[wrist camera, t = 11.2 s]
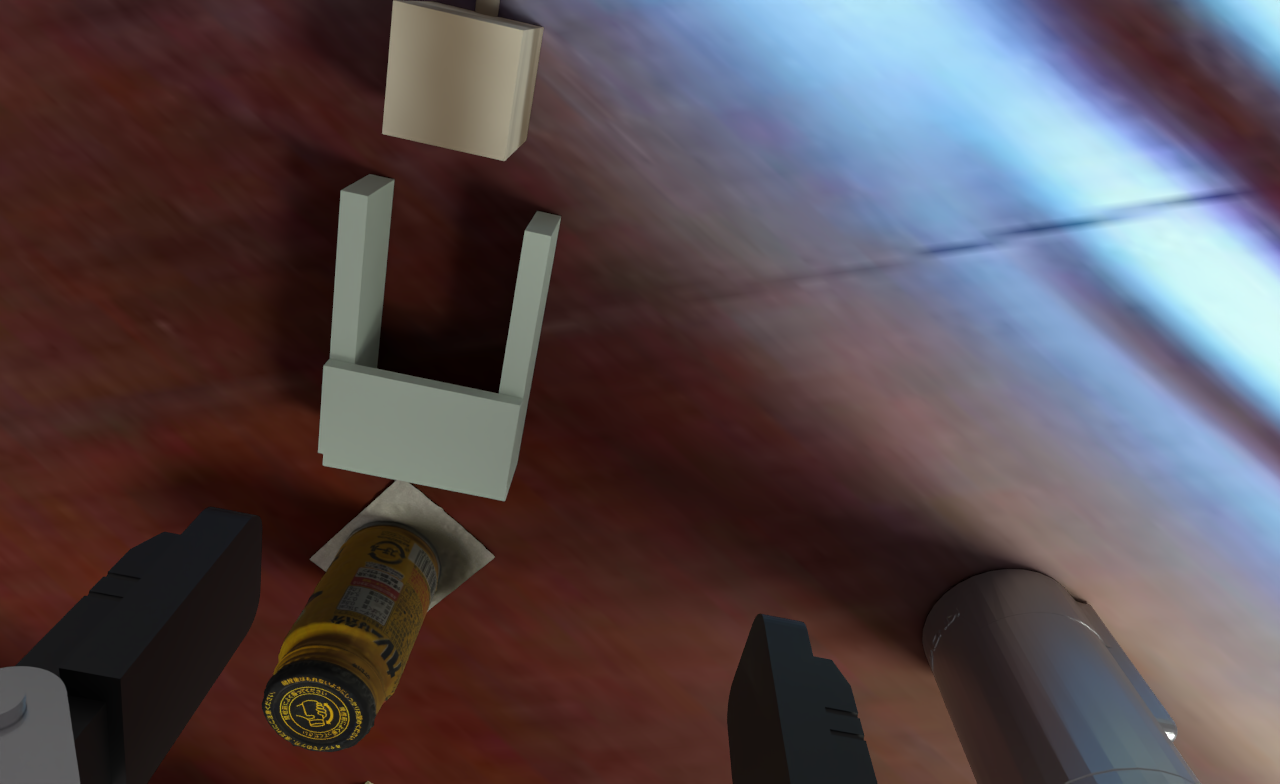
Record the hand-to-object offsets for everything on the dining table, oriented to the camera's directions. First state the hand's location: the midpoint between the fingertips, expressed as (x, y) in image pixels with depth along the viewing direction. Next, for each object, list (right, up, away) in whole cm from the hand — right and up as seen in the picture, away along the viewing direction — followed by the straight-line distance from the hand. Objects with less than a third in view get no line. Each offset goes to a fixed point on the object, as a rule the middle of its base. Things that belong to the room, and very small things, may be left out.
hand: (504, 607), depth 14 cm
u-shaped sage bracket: (-8, +7, +30) cm, 32 cm away
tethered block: (-4, +24, +22) cm, 33 cm away
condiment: (-12, -6, +37) cm, 39 cm away
